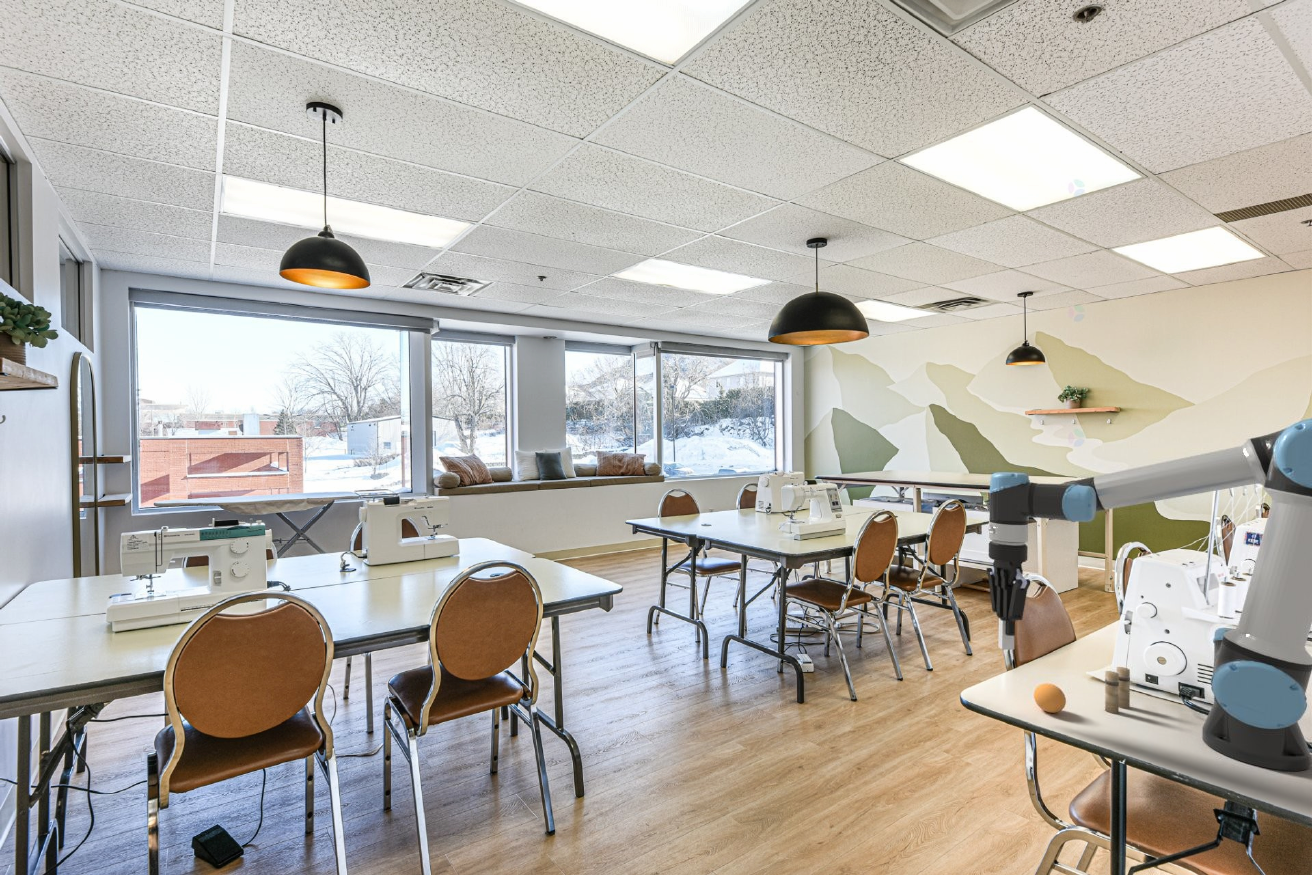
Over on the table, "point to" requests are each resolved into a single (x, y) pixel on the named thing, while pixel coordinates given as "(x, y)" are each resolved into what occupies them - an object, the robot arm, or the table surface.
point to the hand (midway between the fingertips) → (1006, 648)
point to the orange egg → (1049, 698)
